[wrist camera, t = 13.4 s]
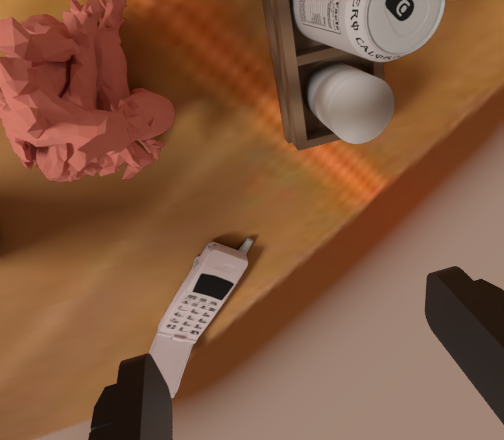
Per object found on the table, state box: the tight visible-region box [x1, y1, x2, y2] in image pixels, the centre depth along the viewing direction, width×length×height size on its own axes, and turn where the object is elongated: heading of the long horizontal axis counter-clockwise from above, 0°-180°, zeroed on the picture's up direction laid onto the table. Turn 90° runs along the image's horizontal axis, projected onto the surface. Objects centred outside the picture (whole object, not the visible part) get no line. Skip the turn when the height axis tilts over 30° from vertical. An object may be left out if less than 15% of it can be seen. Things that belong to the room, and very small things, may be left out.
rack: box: [262, 0, 395, 150], centre depth 32 cm, size 25×10×10 cm, turn 12°
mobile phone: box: [149, 238, 253, 398], centre depth 50 cm, size 6×6×25 cm
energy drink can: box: [290, 0, 445, 62], centre depth 28 cm, size 6×6×15 cm
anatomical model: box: [0, 0, 175, 182], centre depth 28 cm, size 15×15×20 cm
